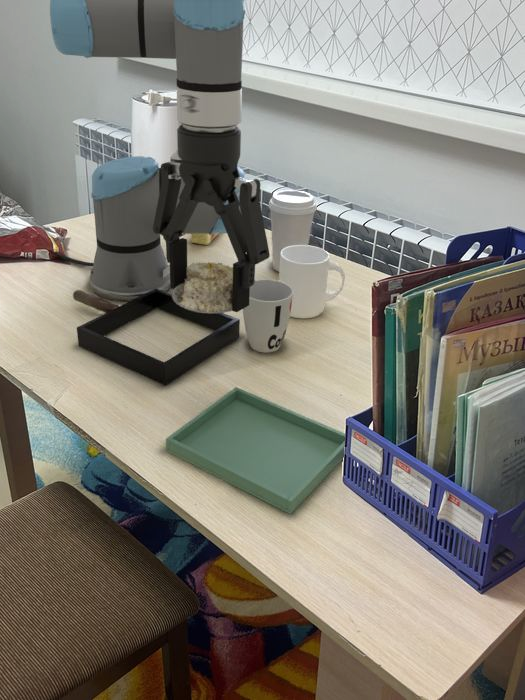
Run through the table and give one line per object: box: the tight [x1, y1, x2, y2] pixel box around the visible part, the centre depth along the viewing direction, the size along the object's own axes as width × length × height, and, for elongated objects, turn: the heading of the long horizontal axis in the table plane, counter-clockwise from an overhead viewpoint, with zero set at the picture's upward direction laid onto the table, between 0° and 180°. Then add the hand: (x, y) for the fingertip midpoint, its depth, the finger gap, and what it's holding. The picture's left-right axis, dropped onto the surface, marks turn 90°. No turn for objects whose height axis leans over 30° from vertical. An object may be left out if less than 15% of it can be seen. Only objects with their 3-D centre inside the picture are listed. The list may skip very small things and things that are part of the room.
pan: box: [72, 288, 241, 386], centre depth 115 cm, size 29×19×4 cm, turn 56°
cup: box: [242, 278, 293, 353], centre depth 112 cm, size 8×8×10 cm
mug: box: [278, 244, 346, 319], centre depth 124 cm, size 9×12×11 cm
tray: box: [165, 386, 346, 515], centre depth 90 cm, size 19×15×2 cm
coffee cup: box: [267, 189, 318, 273], centre depth 138 cm, size 10×10×15 cm
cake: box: [170, 261, 233, 314], centre depth 91 cm, size 10×10×5 cm
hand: (209, 296), depth 92 cm, fingers closed on cake, 10 cm apart
